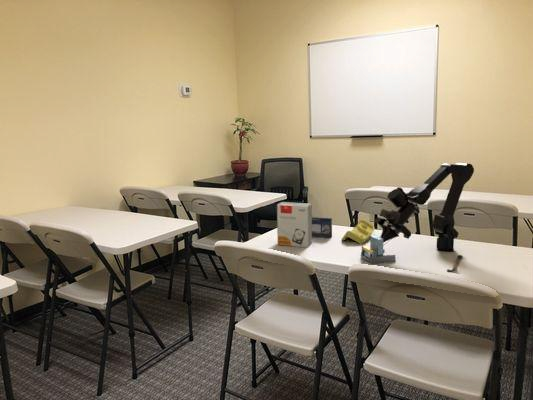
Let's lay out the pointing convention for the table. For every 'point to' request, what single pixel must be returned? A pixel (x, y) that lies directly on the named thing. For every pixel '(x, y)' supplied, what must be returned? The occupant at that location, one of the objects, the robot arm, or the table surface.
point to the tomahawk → (456, 264)
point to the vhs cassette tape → (321, 227)
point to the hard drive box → (294, 224)
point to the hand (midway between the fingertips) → (379, 242)
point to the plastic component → (360, 232)
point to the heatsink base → (375, 258)
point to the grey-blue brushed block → (375, 246)
